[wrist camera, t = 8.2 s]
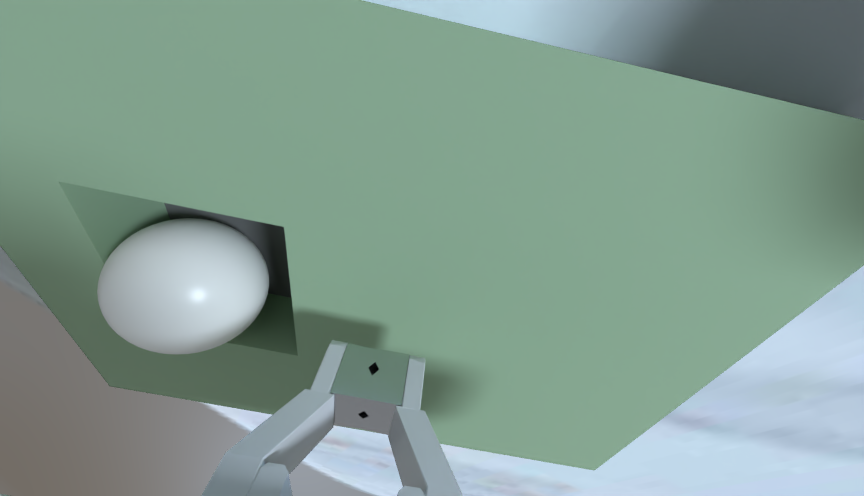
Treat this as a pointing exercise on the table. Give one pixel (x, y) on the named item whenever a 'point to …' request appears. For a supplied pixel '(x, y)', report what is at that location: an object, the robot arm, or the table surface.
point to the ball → (183, 286)
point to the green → (423, 206)
